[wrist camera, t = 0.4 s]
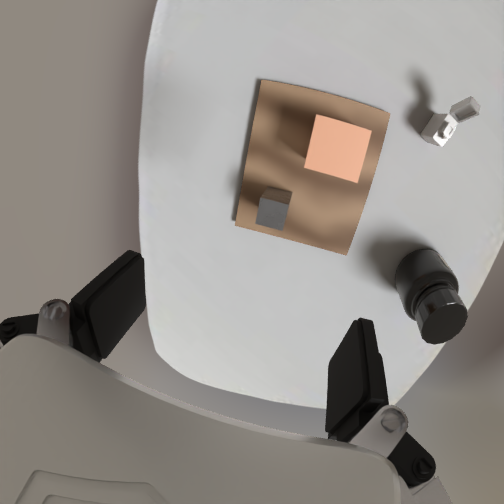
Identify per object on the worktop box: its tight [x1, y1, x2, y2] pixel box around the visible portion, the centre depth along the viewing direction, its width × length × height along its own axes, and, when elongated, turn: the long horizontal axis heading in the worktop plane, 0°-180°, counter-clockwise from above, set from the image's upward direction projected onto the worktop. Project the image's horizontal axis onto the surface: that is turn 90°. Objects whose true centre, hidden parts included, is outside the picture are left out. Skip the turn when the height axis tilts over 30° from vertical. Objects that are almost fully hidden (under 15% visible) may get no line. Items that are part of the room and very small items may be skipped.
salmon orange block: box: [304, 114, 372, 183], centre depth 27 cm, size 6×6×7 cm
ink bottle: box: [395, 249, 468, 344], centre depth 31 cm, size 10×9×12 cm
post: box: [255, 186, 293, 231], centre depth 32 cm, size 3×3×5 cm
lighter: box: [420, 96, 480, 147], centre depth 22 cm, size 7×2×8 cm, turn 150°
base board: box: [235, 80, 390, 255], centre depth 32 cm, size 20×16×1 cm
